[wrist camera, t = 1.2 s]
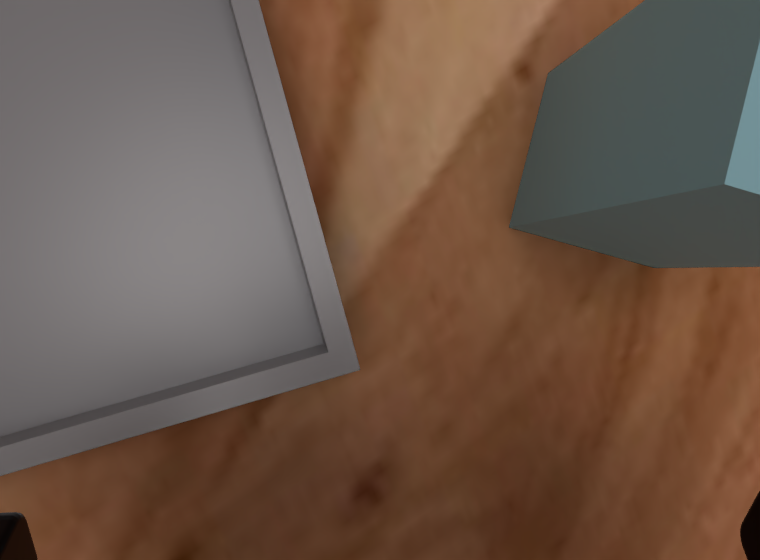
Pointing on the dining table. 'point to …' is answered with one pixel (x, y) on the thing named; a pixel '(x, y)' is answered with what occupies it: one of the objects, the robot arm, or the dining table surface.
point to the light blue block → (653, 140)
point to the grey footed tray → (150, 225)
